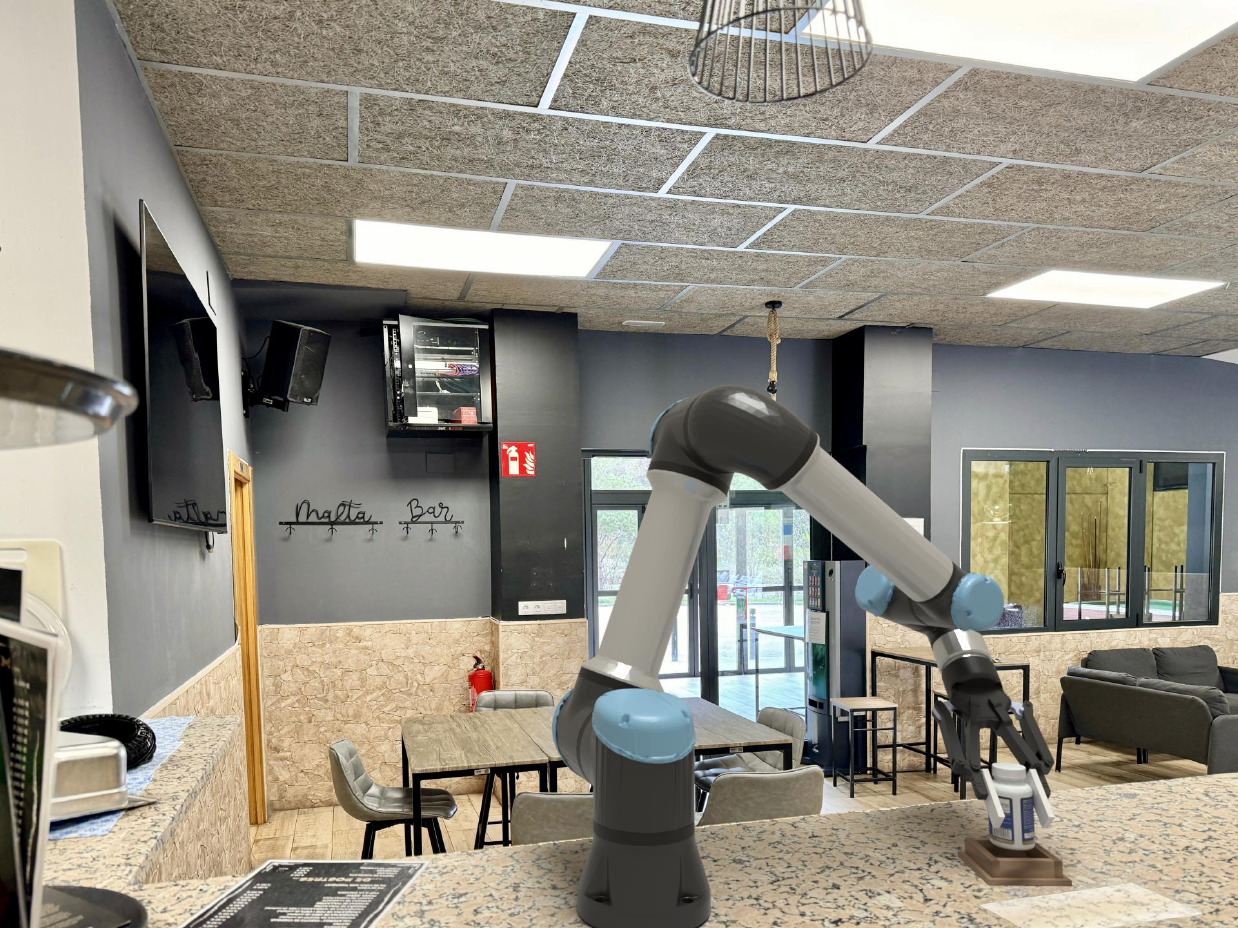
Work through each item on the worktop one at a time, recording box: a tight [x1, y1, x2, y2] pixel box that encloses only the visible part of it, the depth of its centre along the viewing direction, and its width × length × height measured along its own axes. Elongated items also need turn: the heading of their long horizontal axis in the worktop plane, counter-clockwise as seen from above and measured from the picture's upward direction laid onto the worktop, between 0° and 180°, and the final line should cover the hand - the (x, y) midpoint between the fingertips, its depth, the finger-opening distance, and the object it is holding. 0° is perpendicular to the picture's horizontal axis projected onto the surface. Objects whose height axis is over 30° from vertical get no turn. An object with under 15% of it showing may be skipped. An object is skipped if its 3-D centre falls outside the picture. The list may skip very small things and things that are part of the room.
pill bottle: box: [987, 761, 1036, 850], centre depth 109 cm, size 5×5×10 cm
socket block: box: [957, 836, 1073, 887], centre depth 108 cm, size 10×10×3 cm
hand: (1023, 822), depth 105 cm, fingers closed on pill bottle, 5 cm apart
